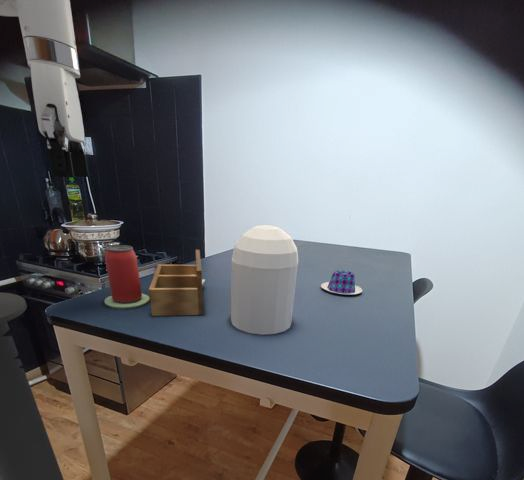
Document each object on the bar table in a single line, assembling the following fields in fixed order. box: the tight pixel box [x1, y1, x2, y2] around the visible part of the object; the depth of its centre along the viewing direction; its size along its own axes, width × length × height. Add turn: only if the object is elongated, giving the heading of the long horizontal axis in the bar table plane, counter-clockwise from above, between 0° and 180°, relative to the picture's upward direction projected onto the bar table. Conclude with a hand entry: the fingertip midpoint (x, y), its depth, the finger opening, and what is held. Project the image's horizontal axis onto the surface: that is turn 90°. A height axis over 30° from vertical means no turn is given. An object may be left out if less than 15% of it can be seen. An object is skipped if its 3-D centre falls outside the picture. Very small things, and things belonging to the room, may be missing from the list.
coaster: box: [104, 292, 150, 310], centre depth 76 cm, size 10×10×1 cm
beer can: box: [104, 244, 143, 303], centre depth 73 cm, size 7×7×12 cm
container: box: [230, 224, 299, 336], centre depth 65 cm, size 14×13×20 cm
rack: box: [148, 249, 204, 317], centre depth 77 cm, size 11×21×10 cm, turn 11°
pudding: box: [320, 269, 364, 296], centre depth 92 cm, size 12×12×5 cm
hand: (72, 176), depth 61 cm, fingers open, 9 cm apart
